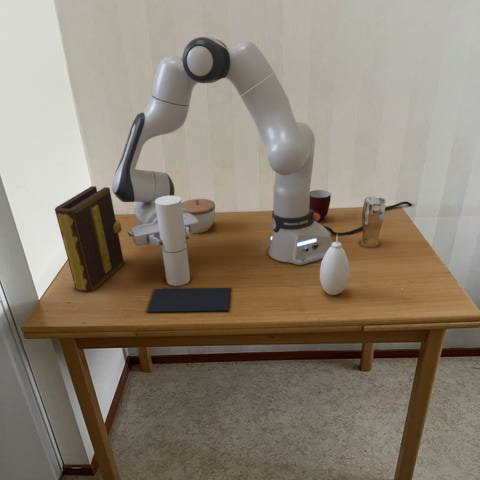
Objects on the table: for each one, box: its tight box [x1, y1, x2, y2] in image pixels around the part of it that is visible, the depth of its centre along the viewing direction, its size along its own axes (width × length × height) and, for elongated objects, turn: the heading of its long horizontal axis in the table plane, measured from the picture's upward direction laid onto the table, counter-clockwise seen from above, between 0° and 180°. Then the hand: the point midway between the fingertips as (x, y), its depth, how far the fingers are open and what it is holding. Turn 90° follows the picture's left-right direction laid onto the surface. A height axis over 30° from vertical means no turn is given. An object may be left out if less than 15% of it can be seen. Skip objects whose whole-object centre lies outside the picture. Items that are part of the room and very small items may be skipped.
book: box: [54, 185, 125, 293], centre depth 146 cm, size 22×8×25 cm, turn 162°
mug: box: [309, 189, 332, 223], centre depth 178 cm, size 11×8×10 cm
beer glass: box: [360, 196, 386, 248], centre depth 159 cm, size 7×7×15 cm
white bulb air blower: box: [319, 234, 350, 296], centre depth 133 cm, size 8×8×18 cm
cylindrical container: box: [155, 195, 191, 287], centre depth 141 cm, size 7×7×25 cm
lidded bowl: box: [182, 198, 216, 234], centre depth 176 cm, size 13×13×11 cm
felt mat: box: [146, 287, 231, 314], centre depth 138 cm, size 22×12×1 cm, turn 88°
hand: (174, 239), depth 140 cm, fingers closed on cylindrical container, 7 cm apart
